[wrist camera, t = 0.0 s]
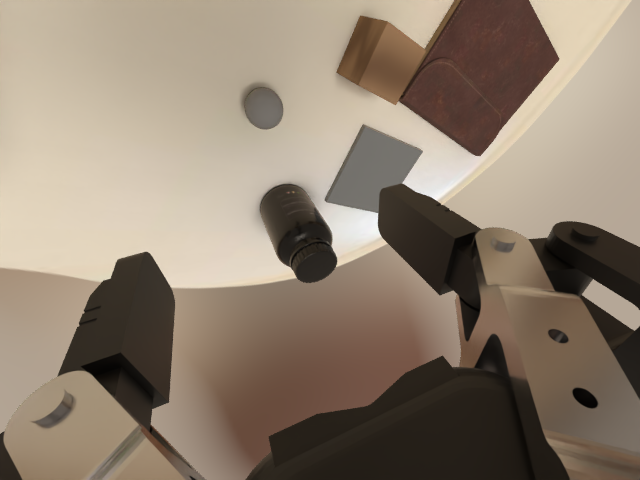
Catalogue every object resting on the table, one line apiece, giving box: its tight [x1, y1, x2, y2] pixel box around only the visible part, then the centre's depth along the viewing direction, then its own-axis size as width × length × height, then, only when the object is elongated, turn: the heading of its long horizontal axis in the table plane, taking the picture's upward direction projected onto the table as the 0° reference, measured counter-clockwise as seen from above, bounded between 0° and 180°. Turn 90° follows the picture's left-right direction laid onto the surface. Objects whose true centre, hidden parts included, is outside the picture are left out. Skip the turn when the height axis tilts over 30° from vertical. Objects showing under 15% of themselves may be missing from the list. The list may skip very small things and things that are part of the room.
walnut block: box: [337, 16, 426, 105], centre depth 27 cm, size 5×5×5 cm
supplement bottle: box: [260, 185, 337, 283], centre depth 33 cm, size 7×7×12 cm
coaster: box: [325, 125, 423, 213], centre depth 39 cm, size 11×11×1 cm
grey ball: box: [245, 88, 283, 129], centre depth 26 cm, size 4×4×4 cm
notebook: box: [398, 0, 559, 156], centre depth 34 cm, size 15×20×2 cm
